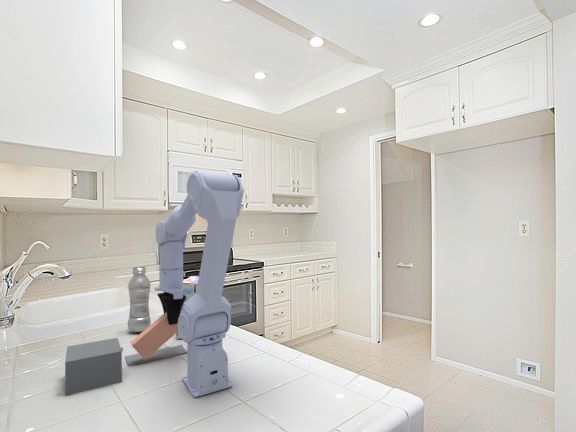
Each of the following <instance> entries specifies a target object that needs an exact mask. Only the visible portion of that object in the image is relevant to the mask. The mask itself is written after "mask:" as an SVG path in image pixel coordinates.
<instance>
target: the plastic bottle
mask: <svg viewBox="0 0 576 432" xmlns="http://www.w3.org/2000/svg"><path fill="white" fill-rule="evenodd" d="M146 268H147V267H146V266H136V267H132V277H131V279H130V280H129V282H128V284H127V289H128V295H129V315H128V321H127V329H128V330H129V332H130V333H142V332H143V331H144V330H145V329H146V328H148V327H149V326H150V325H151V324H152V323H151V322H152V321H151V315H150V306H149V304H150V303H149V300H150V292H151V291H150V290H151V286H152V283H151V281H150V279H149V278H148V277H147V276H146V274H147V271H146V270H147V269H146Z"/></svg>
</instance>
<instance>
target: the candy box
mask: <svg viewBox="0 0 576 432" xmlns="http://www.w3.org/2000/svg"><path fill="white" fill-rule="evenodd" d="M198 280H199V275H197V276H196V275H193V276H192V275H191V276H189V277H188V278H186V279H183V285H184V289H183V295H185V296H186V299H185V301H184V303H185V302H186V301H187V300H189V299H190V298H191V297H192V296H194V295H195V294H196V291H197V286H198ZM184 303H183V305H184ZM183 305H182V308H181V312H182V309H183ZM181 312H180V314H181ZM175 335H176V337H175V338H176V340H182V338H181V337H180V334H179V331H178V332H177V333H176V334H175Z"/></svg>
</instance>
